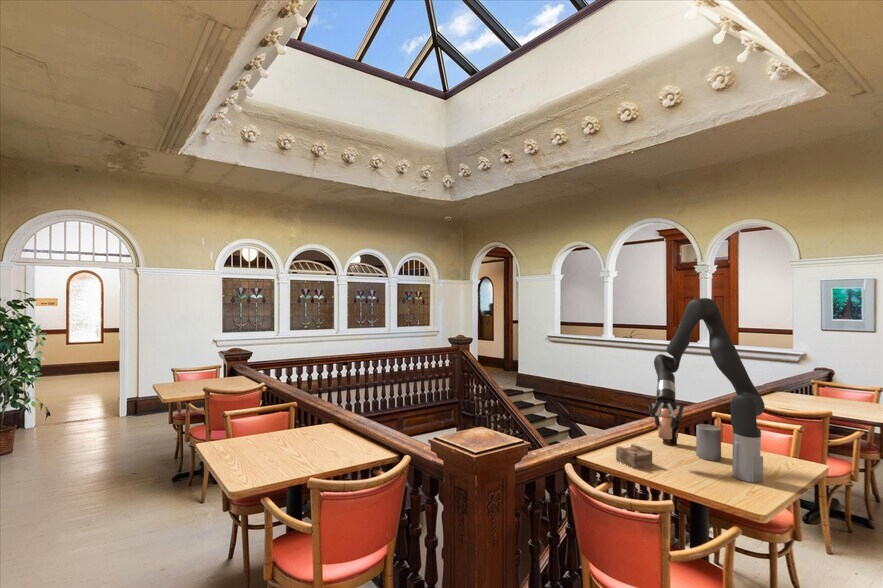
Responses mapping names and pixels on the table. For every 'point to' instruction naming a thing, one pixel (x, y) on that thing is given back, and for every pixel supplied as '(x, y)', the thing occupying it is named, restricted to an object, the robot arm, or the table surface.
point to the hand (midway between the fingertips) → (665, 426)
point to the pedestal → (634, 456)
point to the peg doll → (665, 424)
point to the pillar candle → (708, 442)
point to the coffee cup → (673, 436)
